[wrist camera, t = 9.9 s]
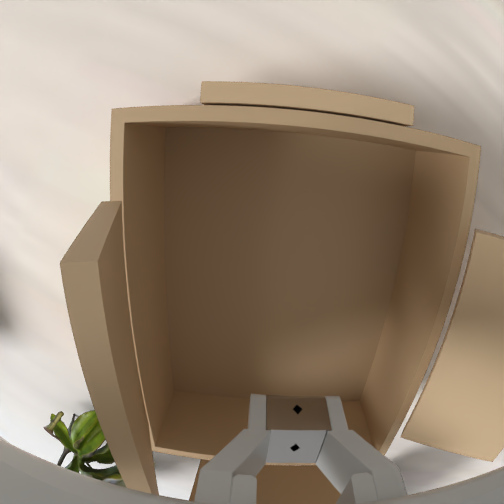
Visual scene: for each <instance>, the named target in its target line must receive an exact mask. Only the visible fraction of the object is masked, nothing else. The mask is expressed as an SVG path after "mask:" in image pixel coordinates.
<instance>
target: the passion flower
mask: <svg viewBox="0 0 504 504" xmlns="http://www.w3.org/2000/svg"><path fill="white" fill-rule="evenodd" d="M63 415H64V413H63V412H62V411H60V412H58V414H57V415H54V414H51V423H50V424H49V425H48V426H46V427H44V429H45V430H46V431H47V432H48V433H49V434H51V435H52V436H53V437H55V438H56V439H58V440H59V441H60V442H61V443H62V444H63V445H64V451H63V454H62V455H61V457H60V459H59V461H58V464H57V465H58V466H61V464H62V462H63V460H64V458H65V456H66V455H67V454H68V453H69V452H71V451H72V452H73V453H74V457H73V460H72V461H71V463H70V464H69V465H68V466H66V467H65V468H66V469H69V470H71V471H74V472H77V473H79V471H80V472H81V474H83V475H86V476H89V477H92V478H95V479H98V480H101V481H104V482H108V483H111V484H115V485H118V486H122V487H126V485H125V483H124V481H123V479H122V477H121V474H120V472H119V470H118V468H117V466H116V465H115V466H114V467H110V468H106V469H93V468H92V467H91V466H90V465H89V463H90V462H93V461H97V462H99V463H102V464H112V463H113V462H115V461H114V459H113V456H112V454H111V451H110V449H109V447H108V444H106V445H105V446H103V447H102V448H100V449H98V448H99V447H100V446H101V444H102V443H103V442H104V440H106V439H105V436H104V434H103V431H102V429H101V426H100V423H99V420H98V418H97V415H96V412H95V410H93V411H89V412H86V413H83V414H82V415H80V416H79V417H78V418H77V419H76V420H75V421H74V418H75V414H73V418H72V421H71V423H70V426H69V428H68V429H67V427H66V426H65V424H64V422H62V421H61V417H62V416H63ZM53 430H54V433H55V435H54V434H53ZM97 449H98V450H97ZM84 463H86V464H87V465H88V466H89V467H87V466H86V465H85V464H84ZM154 466H155V463H154ZM126 488H127V487H126Z"/></svg>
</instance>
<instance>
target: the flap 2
mask: <svg viewBox="0 0 504 504" xmlns="http://www.w3.org/2000/svg"><path fill="white" fill-rule="evenodd" d="M401 438H404V439H408V440H411V441H414V442H417V443H421V444H424V445H427V446H431V447H434V448H438V449H441V450H445V451H449V452H452V453H456V454H460V455H464V456H468V457H473V458H477V459H481V460H486V461H490V462H493V461H494V459H495V458H496V457H497V456H498V454H499V453H500V452H501V450H502V449H503V448H504V237H503V236H499V235H496V234H492V233H488V232H485V231H481V230H477V229H475V232H474V237H473V242H472V246H471V251H470V255H469V259H468V263H467V267H466V271H465V275H464V278H463V282H462V285H461V289H460V292H459V296H458V299H457V302H456V305H455V309H454V312H453V315H452V318H451V321H450V324H449V326H448V329H447V332H446V335H445V338H444V340H443V343H442V346H441V348H440V351H439V353H438V356H437V358H436V361H435V363H434V366H433V368H432V371H431V373H430V375H429V378H428V380H427V382H426V384H425V387H424V389H423V391H422V393H421V395H420V397H419V399H418V402H417V404H416V406H415V408H414V410H413V412H412V414H411V416H410V418H409V420H408V422H407V424H406V425H405V427H404V430H403V432H402V435H401Z"/></svg>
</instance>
